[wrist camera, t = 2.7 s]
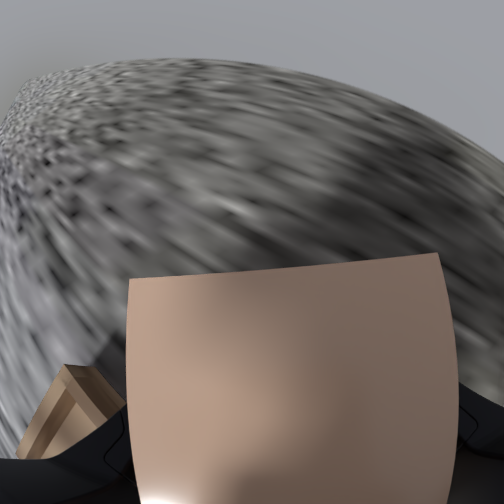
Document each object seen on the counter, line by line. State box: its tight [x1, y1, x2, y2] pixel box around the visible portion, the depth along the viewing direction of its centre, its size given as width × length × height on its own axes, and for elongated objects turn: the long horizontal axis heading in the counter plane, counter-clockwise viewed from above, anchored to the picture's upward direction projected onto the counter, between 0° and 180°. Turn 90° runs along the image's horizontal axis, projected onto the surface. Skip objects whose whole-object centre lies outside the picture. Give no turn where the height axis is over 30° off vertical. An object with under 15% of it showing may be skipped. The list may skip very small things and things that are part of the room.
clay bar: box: [126, 252, 459, 504], centre depth 8 cm, size 4×4×12 cm
